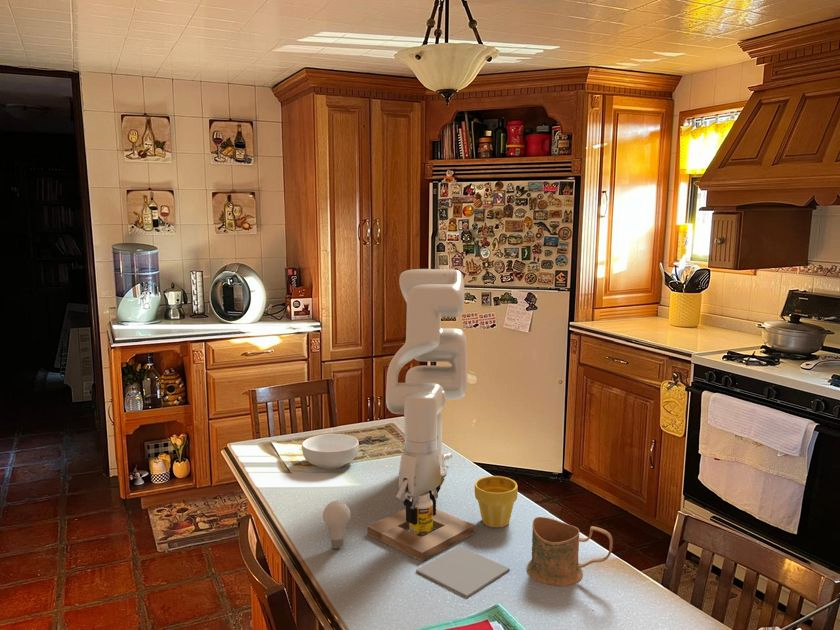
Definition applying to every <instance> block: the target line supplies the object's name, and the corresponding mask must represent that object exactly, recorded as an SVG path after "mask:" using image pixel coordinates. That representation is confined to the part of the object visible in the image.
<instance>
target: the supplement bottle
mask: <svg viewBox="0 0 840 630" xmlns="http://www.w3.org/2000/svg"><path fill="white" fill-rule="evenodd" d="M410 501H412V498H410ZM415 508H417V524H416V525H414V524H411V523H409V528H408V531H409V532H411V533H414V534H416V535H418V536H420V537H423V536H425V535H427V534H429V533H431V532H433V531H434V530H433V529H434V528H433V501H432V500H431V499H430V494H429V491H428V492H426V493H424V494H421V495H419V496H418V498H417V502H416V506H415Z"/></svg>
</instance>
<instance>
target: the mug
mask: <svg viewBox="0 0 840 630" xmlns="http://www.w3.org/2000/svg"><path fill="white" fill-rule="evenodd" d="M531 526H532V535H531V536H532V537H531V538H532V539H531V543H532V544H531V560H530V561H529V562H528V563H527V564H526V565H527V566H526V571H527V575H529V576H530V578H531V579H533V580H535V581H536V582H538V583H541V584H544V585H547V586H552V587H569V586H573V585H575V584H577V583H579V582H580V581H581V580H582V578H583V575H584V574H583V569H582V568H585V567H587V566H589V565H591V564H593V563H602V562H605V561H607V560H608V559H609V558H610V556H611V554H612V551H613V548H614V547H613V544H614V539H613V536H612V534H611V533H610V532H609V531H608V530H606V529H603V528H601V527H598V526H593V525H592V526H591V525H590V527H589V535H588V537H585V538H583V537H580V529H579V528H578V527H576V526H574V525H571V524H570V523H569V524H568V523H566V522H562V521H560V520H556V519H555V518H549V517H546V516H545V517H544V516H537V517H534V518H533V521H532V525H531ZM594 531H595V532H599V533H601V534H603V535H605V536H606V537H607V538H608V540H609V548H608V553H607V555H606V556H605V557H602V558H594V559H593V558H592V559H590V560H589V561H587V562H585V563H579V550H580V549H579V547H580V543H585V542H588V541H590V538H591V537H592V535H593V534H594V533H593V532H594Z"/></svg>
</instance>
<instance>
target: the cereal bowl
mask: <svg viewBox="0 0 840 630" xmlns="http://www.w3.org/2000/svg"><path fill="white" fill-rule="evenodd" d="M359 444H360V443H359V440H358V438H356V437H355V436H352V435H349V434H343V433H325V434H320V435H315V436H311V437H308V438H307V439H305V440H304V441H303V442H302V443H301V451H302V455H303V458H304V459H305V460H306V461H307V462H308V463H309V464H311V465H313V466H317V467H318V468H320V469H324V470H336V469H340V468H342V467H344V465H347V464H348V463H351V462H352V461H353V460H354V459H355V458H356V457H357V455H358V452H359V447H360V445H359Z"/></svg>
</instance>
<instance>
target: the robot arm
mask: <svg viewBox="0 0 840 630" xmlns="http://www.w3.org/2000/svg"><path fill="white" fill-rule="evenodd" d="M398 279H399V280H398V281H399V288H400V291H401V295H402V297H403V298H404V300H405V303H406V322H405V323H406V327H405V328H406V329H405V342H404V344H403V345H402V346H401V347H400V348H399V350H397V352H396V353H395V354H394V356H393V357H392V359H391V361H390V362H389V364H388V368H387V372H386V385H385V386H386V388H385V389H386V390H385V404H386V408H387V409H388V411H389V412H390V413H392V414H395V415H403V416H404V421H403V422H404V427H403V428H404V451H402V453H401V457H400V463H399V471H398V491H397V494H396V496H395V498H396V500H398V501H399V502H400V503H401V504H402V505H403V506H404V507H405V509H406V521H407V522H409V523H411V524H414V525H416V524H417V508H415V506H416V502H417V498H418V496H419V495H421V494H424V493H426V492H428V491H429V494H430V499H431V500H432V501H433V516H435V515H436V509H437V499H438V498H439V492H440V490H441V487H442V485H443V483H444V482H445V478H444V476H446V475H447V473H448V467H447V466H446V465H445V463H446V461H447V460H448V461H449V460H450V459H452V458H453V454H452V453H451V452H450V451H448V452H446V453H444V454H443V444H442V443H443V414H442V410H443V408H445V406H446V403H447V400H460V399H462V398H465V396H466V394H467V391H468V344H467V337H466V336H467V335H466V333H465V332H464V331H463V330H462V329H460V328H455V327H451V328H450V327H442V326H441V318H459V317H460V316H462V315H463V312H464V308H465V299H466V298H465V297H466V296H465V281H464V276H463V273H462V272H461V271H460V270H457V269H450V268H449V269H448V268H447V269H446V268H445V269H444V268H439V269H437V268H433V269H432V268H416V269H407V270H405V271H402V272H401V273H400V275H399V278H398ZM413 360H415V361H418V362H424V363H425V362H430V363H431V362H432V363H433V362H435V363H436V362H437V363H439V362H440V363H450V364H451V365H416V366H413V367H410V368H409V369H408V370H407V372H406V374H405V382H399V376H400V375H399V374H400V372H401V370H402V368H403V367H404V366H405V365H406V364H408V363H409V362H411V361H413ZM411 499H412V501H410V500H411Z"/></svg>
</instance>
